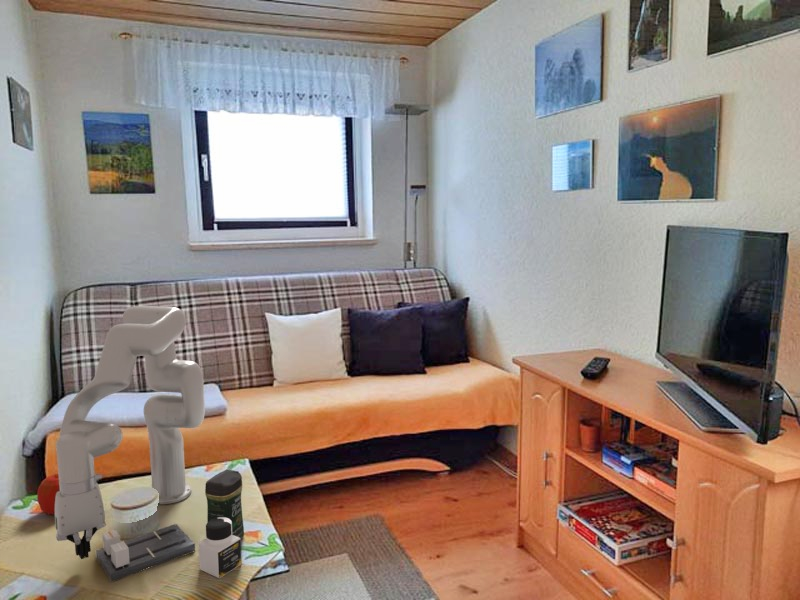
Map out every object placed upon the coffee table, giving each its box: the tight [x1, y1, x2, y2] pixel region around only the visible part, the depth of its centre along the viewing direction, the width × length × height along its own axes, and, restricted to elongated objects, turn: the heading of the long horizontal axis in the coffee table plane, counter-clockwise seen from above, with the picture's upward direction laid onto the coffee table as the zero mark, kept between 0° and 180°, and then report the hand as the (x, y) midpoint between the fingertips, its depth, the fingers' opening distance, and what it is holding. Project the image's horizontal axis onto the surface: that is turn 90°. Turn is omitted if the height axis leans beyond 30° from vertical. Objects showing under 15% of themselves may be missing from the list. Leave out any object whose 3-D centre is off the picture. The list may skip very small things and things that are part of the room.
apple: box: [36, 473, 60, 516], centre depth 173 cm, size 10×10×12 cm
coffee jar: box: [204, 469, 245, 540], centre depth 156 cm, size 10×8×19 cm
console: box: [95, 523, 196, 583], centre depth 151 cm, size 13×20×2 cm, turn 130°
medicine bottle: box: [198, 517, 242, 579], centre depth 145 cm, size 7×7×12 cm
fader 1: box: [101, 529, 121, 555], centre depth 149 cm, size 4×3×4 cm
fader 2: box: [110, 540, 130, 568], centre depth 144 cm, size 4×3×4 cm
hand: (83, 555), depth 145 cm, fingers closed
